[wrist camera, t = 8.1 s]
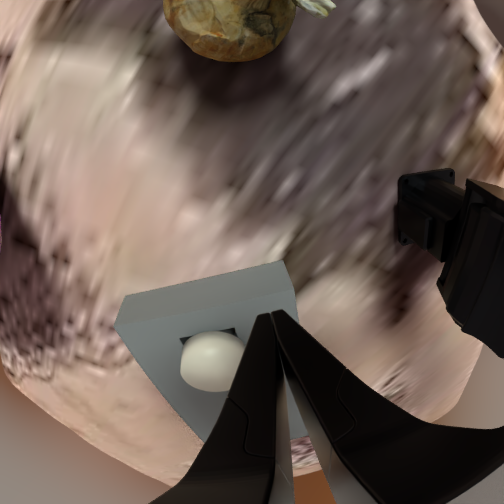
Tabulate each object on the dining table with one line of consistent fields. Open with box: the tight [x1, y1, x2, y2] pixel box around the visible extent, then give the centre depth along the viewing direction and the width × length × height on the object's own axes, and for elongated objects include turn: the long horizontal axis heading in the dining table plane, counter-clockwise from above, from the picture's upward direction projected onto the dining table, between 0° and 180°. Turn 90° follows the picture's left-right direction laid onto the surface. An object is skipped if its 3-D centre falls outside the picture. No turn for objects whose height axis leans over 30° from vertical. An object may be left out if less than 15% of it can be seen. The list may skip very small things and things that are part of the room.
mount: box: [113, 260, 308, 443], centre depth 28 cm, size 14×26×4 cm, turn 12°
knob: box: [180, 328, 245, 392], centre depth 22 cm, size 5×5×6 cm
